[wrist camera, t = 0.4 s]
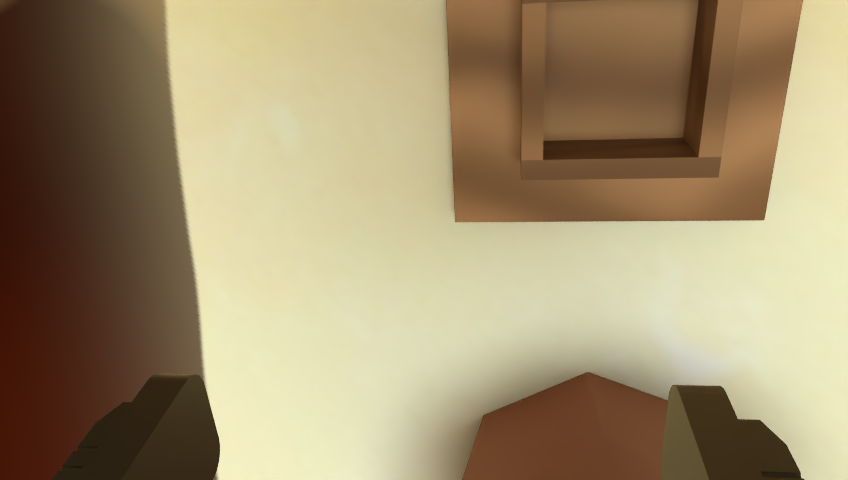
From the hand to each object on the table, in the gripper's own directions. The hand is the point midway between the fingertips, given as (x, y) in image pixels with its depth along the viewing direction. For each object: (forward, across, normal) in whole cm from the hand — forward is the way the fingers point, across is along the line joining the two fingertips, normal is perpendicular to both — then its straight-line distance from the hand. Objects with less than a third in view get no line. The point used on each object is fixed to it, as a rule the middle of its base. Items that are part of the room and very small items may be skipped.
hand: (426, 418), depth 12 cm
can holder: (+26, -6, 0) cm, 27 cm away
